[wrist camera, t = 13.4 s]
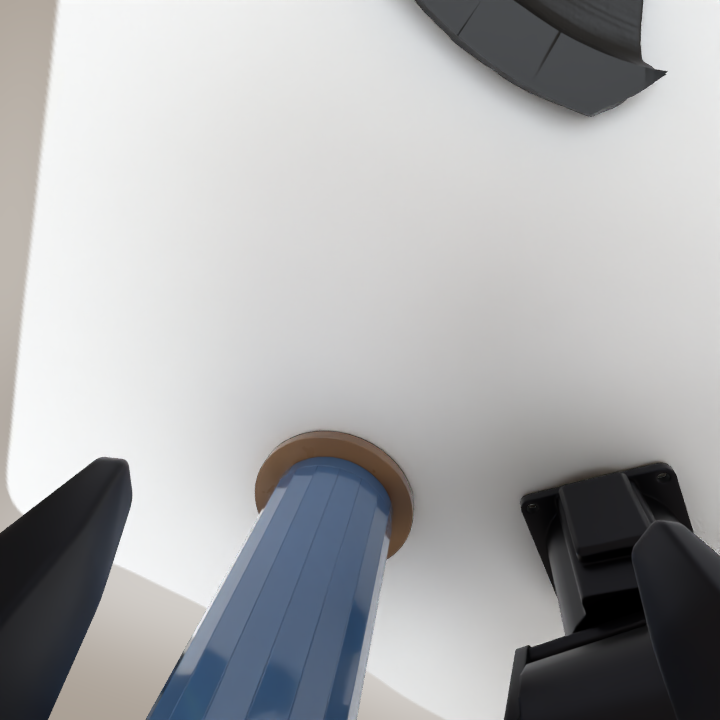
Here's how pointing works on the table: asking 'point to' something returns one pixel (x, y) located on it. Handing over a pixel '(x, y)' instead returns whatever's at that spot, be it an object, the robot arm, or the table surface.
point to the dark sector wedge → (554, 46)
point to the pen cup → (291, 606)
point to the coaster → (350, 451)
